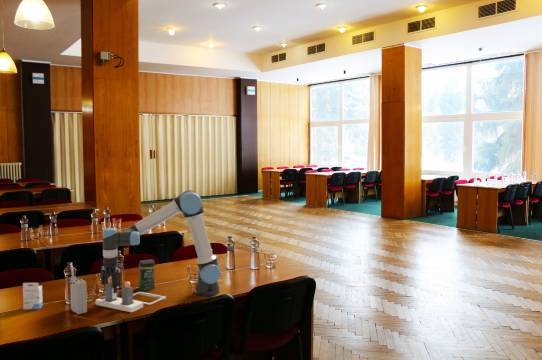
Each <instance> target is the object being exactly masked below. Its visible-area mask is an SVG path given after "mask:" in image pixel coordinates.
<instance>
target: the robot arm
mask: <svg viewBox="0 0 542 360" xmlns="http://www.w3.org/2000/svg"><path fill="white" fill-rule="evenodd" d="M204 212H205V211H204V208H203V201H202V198H201V196H200V194H198V193H197V192H196V191H194V190H191V189H189V190H185V191H183V192H182V193H181V194H179V195H178V196H176V197H175V198H173V200H172V201H171V202H170V203H168V204H166V205H164V206H163V207H161V208H159V209H157V210H155V212H153V213H151V214H149V215H147V216H146V217H145V218H142V219H141V220H139V221H138V222H135V223H134V224H132V225H131V226H127V227H126V228H125V229H124V230H123V231H118V229H117V228H115V227H108V228H104V229H103V230H102V256H103V258H102V261H103V262H102V263H103V265H102V266H100V267H99V269H100V276H101V277H100V279H101V280H100V281H101V285H103V286H104V287H105V284H106V283H108V278H109V277H111V278H112V284H113V287H112V299H115V298H117V293H118V287H120V286H121V271H122V268H118V265H117V264H118V263H119V262H118V261H119V260H118V247H120V246H135V245H136V246H138V245H140V243H141V242H140V241H141V240H140V238H141V237H140V236H142V235H143V234H146V233H147V232H149V231H150V230H152V229H153V228H156V227H157V226H159V225H161V224H162V223H164V222H165V221H167V220H170V219H171V218H172V217H174V216H177V214H183V218H184V219H186V220H187V223H188V225H189V230H190V234H191V236H192V240H193V245H194V247H195V248H194V249H195V252H196V254H197V261H196V264H197V281H196V285H195V288H194V293H195V294H196V295H197V296H204V297H210V296H216V295H218V294H220V292H221V287H220V285H219V280H220V278H221V276H222V270H221V268H220V265H219V263H218V256H217V255H216V254H213V251H212V245H211V241H210V239H209V235H208V232H207V228H206V225H205V221H204V218H203V216H204V215H203V214H204ZM104 293H105V294H104V296H106V291H105V290H104Z"/></svg>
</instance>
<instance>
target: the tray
mask: <svg viewBox="0 0 542 360" xmlns="http://www.w3.org/2000/svg"><path fill="white" fill-rule="evenodd" d="M136 295H141V296H146V297H150V298H156V300H154V301H151V302H145V301H141V300H136V299H133V301H138V302H143V305H148V306H151V305H153V304H155V303H157V302H159V301H162V300H166V299H167V296H166V295H159V294H154V293H148V292H146V291H145V292H144V291H138V292H134V293H133V297H134V296H136Z"/></svg>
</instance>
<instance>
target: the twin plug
mask: <svg viewBox="0 0 542 360" xmlns="http://www.w3.org/2000/svg"><path fill="white" fill-rule="evenodd" d="M123 283H124V284H123V285H124V287H121V298H122V304H123V305H127V306H128V305H130V304H133V300H134V296H133V294H134V287H132V286H131V281H124V282H123Z"/></svg>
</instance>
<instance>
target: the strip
mask: <svg viewBox="0 0 542 360" xmlns="http://www.w3.org/2000/svg"><path fill="white" fill-rule="evenodd" d="M94 301H95V305H96V306H100V307H104V308H109V309H114V310H119V311H124V312H129V313H134V312H136V311H138V310H140V309H143V308H144V304H143V302H144V301H142V302H138V301H139V300H137V301H133V304H130V305H128V306H127V305H123V304H122V297H117V298H116V300H115V301H112V302H108V301H106V295H103V296H100V298H97V299H95V300H94Z"/></svg>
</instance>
